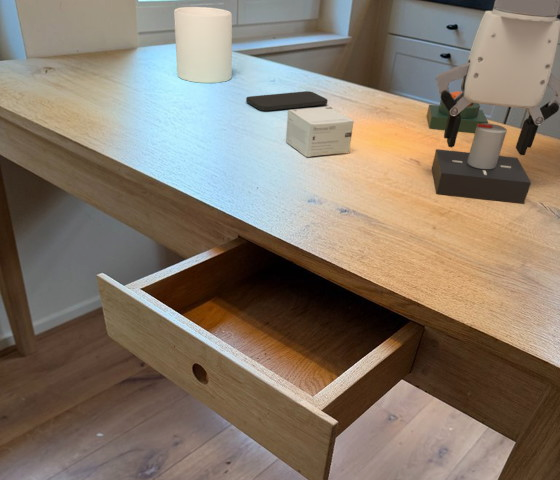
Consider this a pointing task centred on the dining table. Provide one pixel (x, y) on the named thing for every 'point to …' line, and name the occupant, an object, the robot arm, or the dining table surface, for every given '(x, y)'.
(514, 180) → the control panel
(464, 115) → the button block
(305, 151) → the small box
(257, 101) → the phone
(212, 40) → the cup
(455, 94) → the button
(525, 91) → the robot arm
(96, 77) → the dining table surface
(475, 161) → the knob
